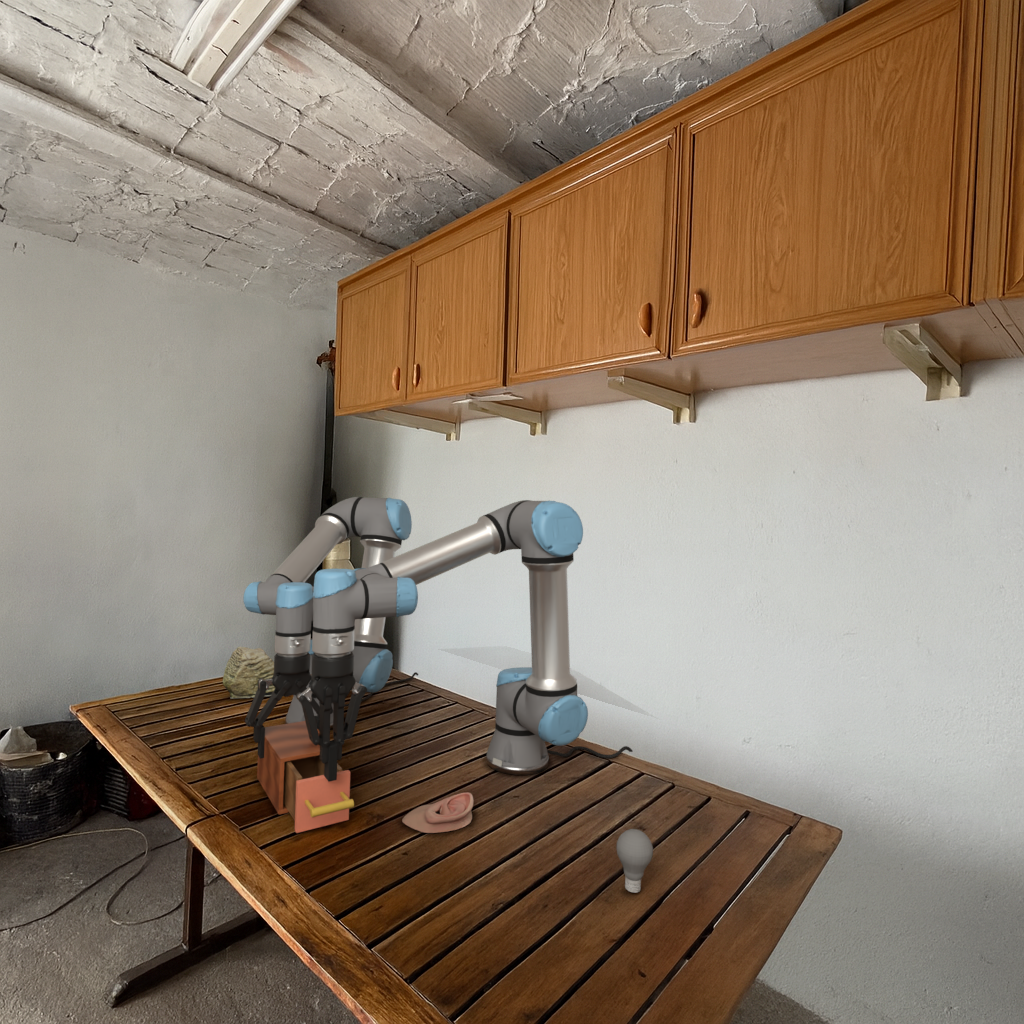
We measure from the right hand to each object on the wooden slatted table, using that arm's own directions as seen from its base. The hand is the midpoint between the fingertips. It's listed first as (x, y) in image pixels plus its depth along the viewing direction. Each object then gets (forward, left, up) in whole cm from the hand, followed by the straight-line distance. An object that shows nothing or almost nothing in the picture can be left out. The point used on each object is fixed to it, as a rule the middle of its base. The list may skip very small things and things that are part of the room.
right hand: (330, 777), depth 118 cm
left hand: (+6, -26, -5) cm, 28 cm away
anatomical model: (-21, 0, -11) cm, 24 cm away
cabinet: (+5, -21, -11) cm, 25 cm away
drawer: (+2, -8, -10) cm, 13 cm away
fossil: (+14, -91, -11) cm, 93 cm away
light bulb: (-46, +32, -11) cm, 57 cm away
